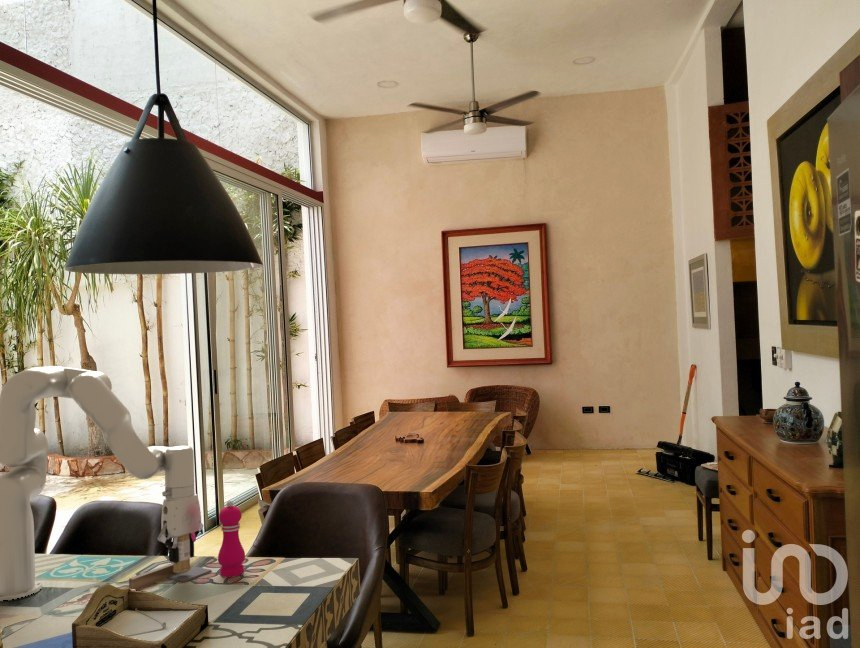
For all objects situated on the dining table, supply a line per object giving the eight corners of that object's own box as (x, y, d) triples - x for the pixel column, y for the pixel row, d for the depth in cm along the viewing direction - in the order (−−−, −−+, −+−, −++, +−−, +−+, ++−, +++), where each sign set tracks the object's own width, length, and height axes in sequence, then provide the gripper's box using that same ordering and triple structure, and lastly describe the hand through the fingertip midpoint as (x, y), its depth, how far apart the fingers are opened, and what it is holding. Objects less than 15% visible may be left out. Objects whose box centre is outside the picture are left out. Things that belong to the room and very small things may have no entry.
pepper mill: (229, 579, 184) (226, 505, 184) (212, 575, 188) (210, 502, 189) (251, 572, 190) (248, 499, 190) (234, 567, 194) (232, 496, 194)
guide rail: (129, 590, 179) (128, 578, 179) (183, 569, 194) (182, 559, 194) (133, 591, 178) (132, 579, 178) (186, 570, 193) (186, 560, 193)
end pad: (167, 578, 187) (167, 576, 187) (194, 568, 195) (194, 566, 195) (184, 582, 183) (184, 580, 183) (211, 571, 191) (211, 569, 191)
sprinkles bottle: (184, 567, 190) (182, 518, 190) (194, 569, 188) (192, 520, 188) (169, 571, 186) (168, 522, 187) (179, 574, 184) (178, 524, 184)
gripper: (162, 499, 178) (164, 570, 178) (213, 486, 193) (215, 552, 192) (144, 497, 182) (146, 566, 182) (195, 484, 197) (197, 548, 196)
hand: (181, 558), depth 187 cm, fingers closed on sprinkles bottle, 4 cm apart
